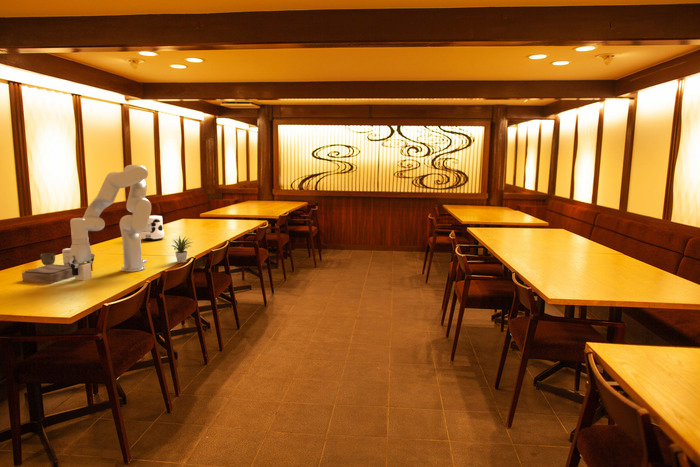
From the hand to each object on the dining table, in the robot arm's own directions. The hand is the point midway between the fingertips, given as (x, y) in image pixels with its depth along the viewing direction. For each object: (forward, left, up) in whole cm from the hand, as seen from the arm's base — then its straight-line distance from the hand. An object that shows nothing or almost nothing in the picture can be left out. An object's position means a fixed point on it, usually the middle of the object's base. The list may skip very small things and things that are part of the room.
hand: (82, 273), depth 242 cm
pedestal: (+3, -17, -3) cm, 17 cm away
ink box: (-17, -22, -3) cm, 28 cm away
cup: (-16, -38, -3) cm, 41 cm away
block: (0, 0, -3) cm, 3 cm away
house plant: (-48, +28, -3) cm, 56 cm away
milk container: (-110, -36, -3) cm, 116 cm away
